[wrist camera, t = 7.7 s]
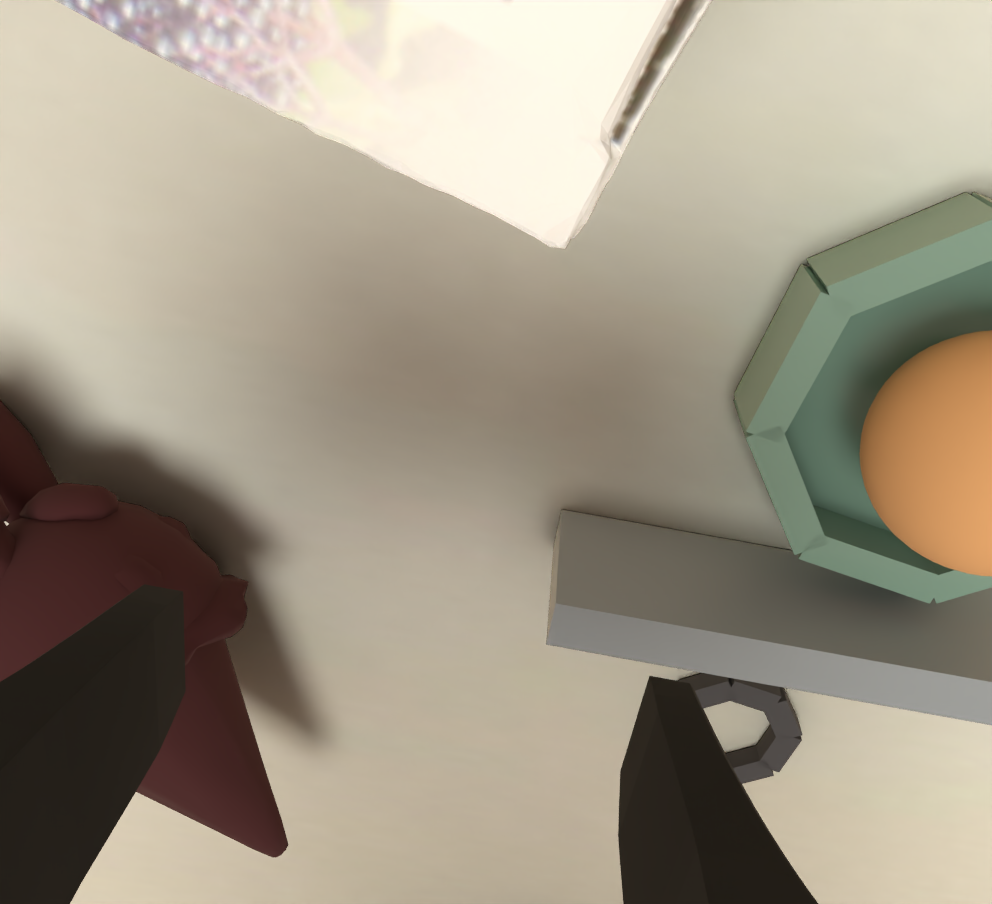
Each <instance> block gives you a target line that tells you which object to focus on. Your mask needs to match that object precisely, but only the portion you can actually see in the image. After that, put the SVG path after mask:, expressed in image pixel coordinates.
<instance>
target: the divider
mask: <svg viewBox="0 0 992 904" xmlns="http://www.w3.org/2000/svg"><path fill="white" fill-rule="evenodd" d="M546 645H552V646H557V647H563V648H568V649H574V650H579V651H585V652H590V653H596V654H601V655H607V656H612V657H618V658H623V659H629V660H635V661H640V662H646V663H651V664H657V665H662V666H668V667H673V668H679V669H684V670H690V671H695V672H701V673H706V674H712V675H717V676H723V677H728V678H734V679H739V680H745V681H750V682H756V683H761V684H767V685H772V686H778V687H783V688H789V689H795V690H800V691H806V692H811V693H817V694H822V695H828V696H833V697H839V698H844V699H850V700H855V701H861V702H866V703H872V704H877V705H883V706H888V707H894V708H899V709H905V710H910V711H916V712H921V713H927V714H932V715H938V716H943V717H949V718H955V719H960V720H966V721H971V722H977V723H982V724H988V725H992V587H991V588H988V589H984V590H981V591H978V592H974V593H971V594H967V595H964V596H961V597H957V598H954V599H951V600H947V601H944V602H940V603H937V604H936V602H935V601H934V599H933V600H932V601H931V603H930V604H929V603H926V602H923V601H920V600H917V599H914V598H911V597H908V596H905V595H903V594H900V593H897V592H894V591H891V590H888V589H885V588H882V587H879V586H876V585H873V584H870V583H867V582H865V581H862V580H859V579H856V578H853V577H850V576H847V575H844V574H841V573H838V572H835V571H832V570H829V569H827V568H824V567H821V566H818V565H815V564H812V563H809V562H806V561H803V560H800V559H798V556H797V554H796V555H794V553H793V551H791V550H785V549H780V548H774V547H768V546H763V545H757V544H752V543H746V542H741V541H735V540H729V539H724V538H718V537H713V536H707V535H701V534H696V533H690V532H685V531H679V530H673V529H668V528H662V527H657V526H651V525H646V524H640V523H634V522H629V521H623V520H618V519H612V518H606V517H601V516H595V515H590V514H584V513H578V512H573V511H567V510H561V514H560V519H559V523H558V528H557V533H556V537H555V542H554V546H553V559H552V573H551V587H550V600H549V614H548V627H547V641H546Z"/></svg>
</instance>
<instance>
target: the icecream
mask: <svg viewBox="0 0 992 904" xmlns="http://www.w3.org/2000/svg"><path fill="white" fill-rule="evenodd" d="M4 521H6V522H8V523H9V525H8V526H6V525H5V523H4ZM144 584H145V585H151V586H156V587H162V588H167V589H173V590H178V591H183V602H184V644H185V686H186V691H185V694H184V696H183V698H182V701H181V703H180V706H179V708H178V710H177V713H176V715H175V717H174V720H173V722H172V724H171V727H170V729H169V731H168V733H167V735H166V738H165V740H164V742H163V744H162V747H161V749H160V751H159V753H158V754H157V756H156V758H155V760H154V761H153V763H152V765H151V767H150V768H149V770H148V772H147V773H146V775H145V777H144V778H143V780H142V782H141V784H140V785H139V787H138V789H137V790H136V792H138V793H140V794H142V795H144V796H146V797H148V798H150V799H152V800H154V801H156V802H158V803H160V804H162V805H165V806H167V807H169V808H171V809H173V810H175V811H177V812H179V813H181V814H183V815H185V816H187V817H189V818H191V819H193V820H195V821H197V822H199V823H201V824H203V825H205V826H207V827H209V828H212V829H214V830H216V831H218V832H220V833H222V834H224V835H226V836H228V837H230V838H232V839H234V840H236V841H238V842H240V843H242V844H244V845H246V846H248V847H250V848H252V849H254V850H256V851H259V852H261V853H264V854H266V855H268V856H271V857H278V856H280V855H281V854H282V853H283V852H284V851H285V850H286V848H287V846H288V841H287V838H286V834H285V831H284V827H283V823H282V820H281V817H280V814H279V811H278V808H277V804H276V801H275V798H274V795H273V792H272V789H271V786H270V783H269V780H268V777H267V774H266V771H265V768H264V764H263V761H262V758H261V755H260V752H259V748H258V745H257V742H256V739H255V735H254V732H253V729H252V726H251V722H250V719H249V716H248V713H247V709H246V706H245V703H244V700H243V697H242V693H241V690H240V687H239V684H238V680H237V677H236V674H235V671H234V667H233V664H232V661H231V658H230V654H229V651H228V648H227V645H226V642H225V638H228V637H232V636H233V635H234V634H235V633H237V632H238V631H239V630H240V629H241V628H242V627H243V625H244V623H245V620H246V617H247V605H246V603H245V600H244V596H245V592H246V589H247V585H248V581H245V580H242V579H238V578H236V577H234V576H232V575H221V574H220V572H219V570H218V567H217V565H216V563H215V561H214V560H212V559H211V558H210V557H209V556H208V555H206V554H205V553H204V552H203V551H202V549H201V548H200V547H199V546H198V545H197V544H196V543H195V542H194V541H193V540H192V539H191V538H190V535H189V532H188V530H187V528H186V526H185V524H184V523H182V522H180V521H178V520H175V519H173V518H171V517H162V516H160V515H158V514H156V513H154V512H152V511H150V510H148V509H146V508H144V507H142V506H140V505H135V504H130V503H125V502H120V501H117V496H116V495H115V494H114V493H112V492H110V491H109V490H107V489H106V488H104V487H102V486H94V485H83V484H72V483H61V484H58V483H57V481H56V478H55V476H54V475H53V473H52V471H51V469H50V467H49V466H48V464H47V462H46V460H45V459H44V457H43V455H42V453H41V452H40V450H39V448H38V446H37V445H36V443H35V441H34V439H33V437H32V436H31V434H30V433H29V432H28V431H27V430H26V428H25V427H24V426H23V425H22V424H21V423H20V422H19V421H18V419H17V418H16V417H15V416H14V415H13V414H12V413H11V412H10V411H9V409H8V408H7V407H6V406H5V405H4V404H3V403H2V402H1V401H0V682H1V681H2V680H4V679H6V678H7V677H9V676H10V675H12V674H14V673H15V672H17V671H18V670H20V669H22V668H23V667H25V666H26V665H28V664H29V663H31V662H32V661H34V660H35V659H37V658H38V657H40V656H41V655H43V654H44V653H46V652H47V651H49V650H50V649H51V648H53V647H54V646H56V645H57V644H59V643H60V642H62V641H63V640H65V639H66V638H68V637H69V636H71V635H72V634H74V633H75V632H76V631H78V630H79V629H81V628H82V627H84V626H85V625H86V624H88V623H89V622H91V621H92V620H94V619H95V618H96V617H98V616H99V615H101V614H102V613H103V612H105V611H106V610H108V609H109V608H111V607H112V606H113V605H115V604H116V603H118V602H119V601H120V600H122V599H123V598H125V597H126V596H128V595H129V594H131V593H132V592H134V591H135V590H137V589H138V588H140V587H141V586H143V585H144Z"/></svg>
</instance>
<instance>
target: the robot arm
mask: <svg viewBox="0 0 992 904" xmlns="http://www.w3.org/2000/svg"><path fill="white" fill-rule="evenodd" d="M185 691H186V686H185V644H184V602H183V591H178V590H173V589H167V588H162V587H156V586H151V585H145V584H144V585H143V586H141V587H140V588H138V589H137V590H135V591H134V592H132V593H131V594H129V595H128V596H126V597H125V598H123V599H122V600H120V601H119V602H118V603H116V604H115V605H113V606H112V607H111V608H109V609H108V610H106V611H105V612H103V613H102V614H101V615H99V616H98V617H96V618H95V619H94V620H92V621H91V622H89V623H88V624H86V625H85V626H84V627H82V628H81V629H79V630H78V631H76V632H75V633H74V634H72V635H71V636H69V637H68V638H66V639H65V640H63V641H62V642H60V643H59V644H57V645H56V646H54V647H53V648H51V649H50V650H49V651H47V652H46V653H44V654H43V655H41V656H40V657H38V658H37V659H35V660H34V661H32V662H31V663H29V664H28V665H26V666H25V667H23V668H22V669H20V670H18V671H17V672H15V673H14V674H12V675H10V676H9V677H7V678H6V679H4V680H2V681H1V682H0V904H70V902H71V901H72V899H73V897H74V895H75V893H76V891H77V890H78V888H79V886H80V884H81V882H82V881H83V879H84V877H85V876H86V874H87V872H88V871H89V869H90V867H91V866H92V864H93V862H94V861H95V859H96V857H97V856H98V854H99V852H100V851H101V849H102V847H103V846H104V844H105V842H106V841H107V839H108V837H109V836H110V834H111V832H112V830H113V829H114V827H115V825H116V824H117V822H118V820H119V819H120V817H121V815H122V814H123V812H124V810H125V809H126V807H127V805H128V804H129V802H130V800H131V799H132V797H133V795H134V794H135V792H136V790H137V789H138V787H139V785H140V784H141V782H142V780H143V778H144V777H145V775H146V773H147V772H148V770H149V768H150V767H151V765H152V763H153V761H154V760H155V758H156V756H157V754H158V753H159V751H160V749H161V747H162V744H163V742H164V740H165V738H166V735H167V733H168V731H169V729H170V727H171V724H172V722H173V720H174V717H175V715H176V713H177V710H178V708H179V706H180V703H181V701H182V698H183V696H184V694H185ZM618 837H619V852H620V865H621V877H622V890H623V902H624V904H818V903H817V901H816V900H815V899H814V897H813V896H812V895H811V893H810V892H809V890H808V889H807V888H806V886H805V885H804V883H803V882H802V880H801V879H800V878H799V876H798V875H797V873H796V872H795V870H794V869H793V867H792V866H791V864H790V863H789V861H788V860H787V858H786V857H785V855H784V854H783V852H782V851H781V849H780V847H779V846H778V844H777V843H776V841H775V840H774V838H773V836H772V835H771V833H770V832H769V830H768V829H767V827H766V825H765V824H764V822H763V820H762V819H761V817H760V815H759V814H758V812H757V810H756V809H755V807H754V805H753V803H752V801H751V800H750V798H749V796H748V794H747V793H746V791H745V789H744V787H743V785H742V784H741V782H740V780H739V778H738V777H737V775H736V773H735V771H734V769H733V767H732V766H731V764H730V762H729V760H728V758H727V756H726V754H725V752H724V750H723V748H722V746H721V744H720V742H719V740H718V739H717V737H716V735H715V733H714V730H713V728H712V726H711V724H710V722H709V720H708V718H707V716H706V714H705V712H704V710H703V708H702V705H701V703H700V701H699V699H698V697H697V695H696V692H695V690H694V689H693V687H692V686H691V685H690V683H686V682H680V681H675V680H669V679H664V678H658V677H653V676H649V680H648V683H647V686H646V689H645V693H644V696H643V699H642V702H641V706H640V709H639V712H638V716H637V719H636V722H635V725H634V729H633V732H632V735H631V738H630V742H629V745H628V748H627V752H626V755H625V758H624V761H623V765H622V768H621V774H620V798H619V831H618Z"/></svg>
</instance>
